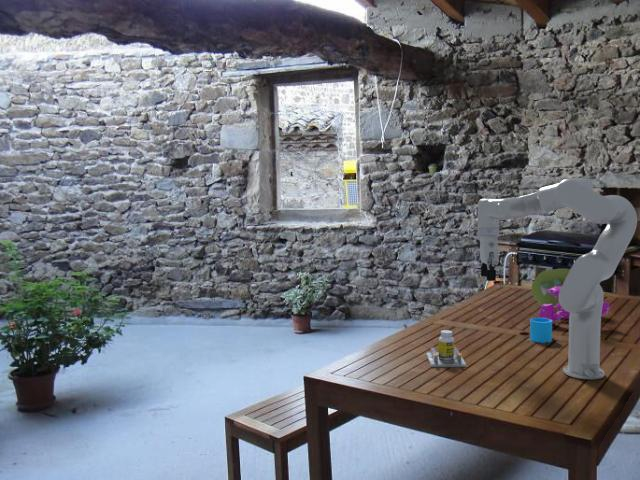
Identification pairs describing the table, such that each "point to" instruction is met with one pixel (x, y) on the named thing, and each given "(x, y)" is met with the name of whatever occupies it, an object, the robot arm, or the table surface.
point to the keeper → (438, 362)
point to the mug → (541, 330)
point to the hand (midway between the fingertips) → (488, 278)
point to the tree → (553, 294)
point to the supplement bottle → (446, 345)
